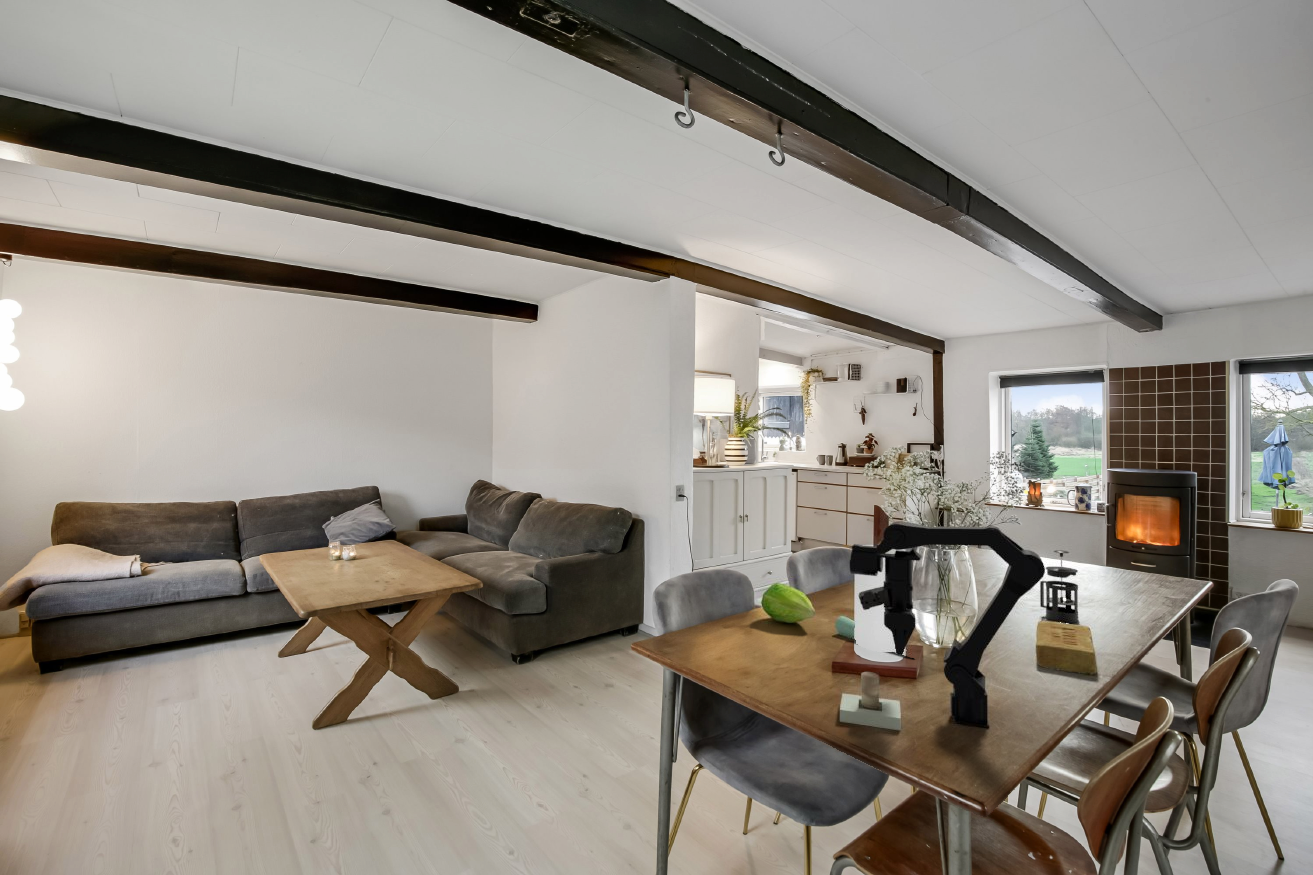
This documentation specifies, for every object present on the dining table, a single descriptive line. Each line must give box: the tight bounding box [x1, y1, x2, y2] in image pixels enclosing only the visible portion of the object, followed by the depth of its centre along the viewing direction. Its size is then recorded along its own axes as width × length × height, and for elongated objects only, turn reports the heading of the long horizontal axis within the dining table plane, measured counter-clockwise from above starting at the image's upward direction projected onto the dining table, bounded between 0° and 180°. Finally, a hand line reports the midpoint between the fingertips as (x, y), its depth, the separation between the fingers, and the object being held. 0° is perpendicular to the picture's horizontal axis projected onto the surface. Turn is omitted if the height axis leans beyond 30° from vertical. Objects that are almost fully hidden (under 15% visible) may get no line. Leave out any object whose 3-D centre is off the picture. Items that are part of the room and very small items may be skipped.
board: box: [839, 693, 902, 732], centre depth 132 cm, size 12×9×2 cm
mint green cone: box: [834, 615, 856, 640], centre depth 179 cm, size 5×6×27 cm
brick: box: [1035, 620, 1098, 675], centre depth 169 cm, size 13×26×7 cm, turn 147°
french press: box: [1039, 549, 1080, 624], centre depth 204 cm, size 12×9×23 cm
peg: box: [860, 671, 880, 711], centre depth 132 cm, size 4×4×9 cm
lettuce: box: [760, 582, 816, 623], centre depth 200 cm, size 14×20×12 cm
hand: (898, 647), depth 137 cm, fingers open, 9 cm apart
